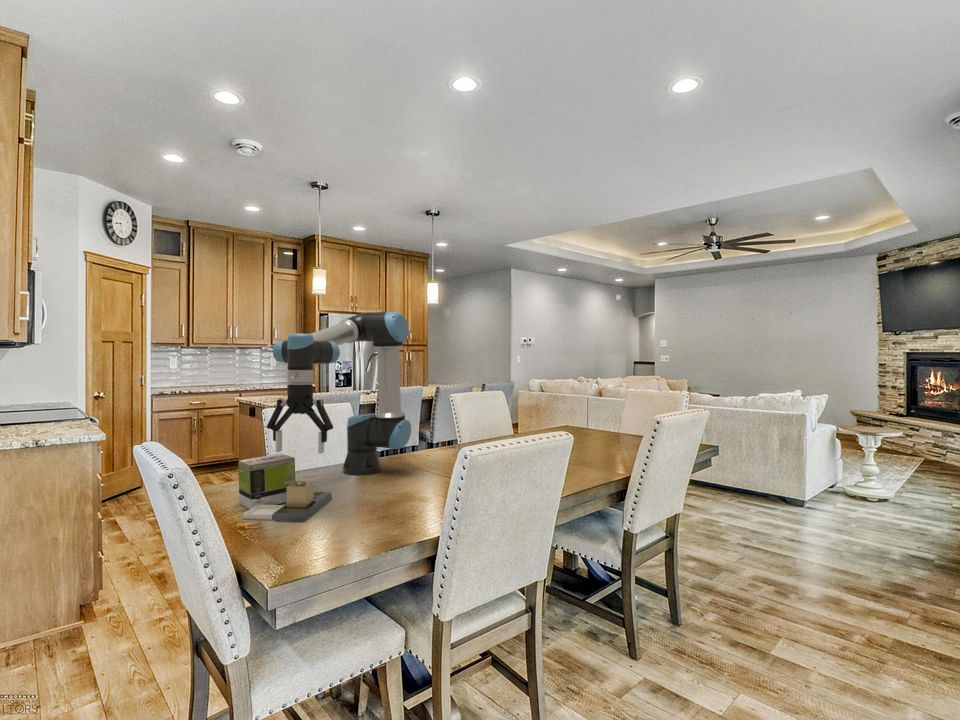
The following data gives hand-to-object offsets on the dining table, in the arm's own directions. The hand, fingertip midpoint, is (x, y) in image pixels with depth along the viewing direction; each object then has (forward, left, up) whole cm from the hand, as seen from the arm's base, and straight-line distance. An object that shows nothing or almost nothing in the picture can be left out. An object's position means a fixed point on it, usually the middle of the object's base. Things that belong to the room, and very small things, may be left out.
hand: (299, 452), depth 161 cm
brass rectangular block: (0, 0, -19) cm, 19 cm away
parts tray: (+3, -10, -19) cm, 21 cm away
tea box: (-8, -15, -19) cm, 26 cm away
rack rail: (-3, 0, -19) cm, 19 cm away
